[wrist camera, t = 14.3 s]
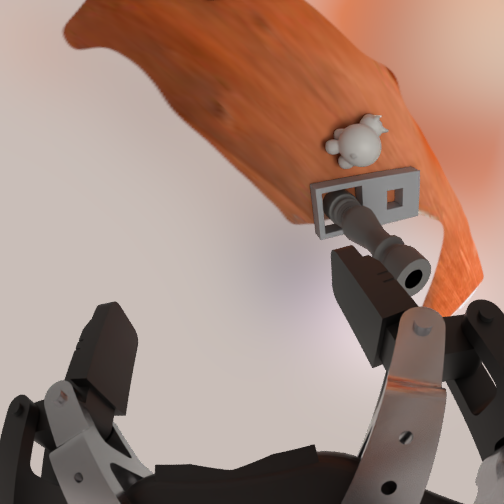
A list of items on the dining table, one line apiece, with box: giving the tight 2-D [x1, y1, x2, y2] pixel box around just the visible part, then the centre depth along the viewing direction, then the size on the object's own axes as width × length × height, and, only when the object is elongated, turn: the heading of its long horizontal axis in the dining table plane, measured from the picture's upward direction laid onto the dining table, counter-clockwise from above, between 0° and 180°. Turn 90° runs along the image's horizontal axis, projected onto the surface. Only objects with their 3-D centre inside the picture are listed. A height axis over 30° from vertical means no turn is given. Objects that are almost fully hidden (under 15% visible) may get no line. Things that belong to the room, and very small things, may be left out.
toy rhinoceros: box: [325, 114, 388, 169], centre depth 41 cm, size 7×12×8 cm, turn 133°
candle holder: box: [323, 189, 431, 297], centre depth 40 cm, size 6×6×25 cm
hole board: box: [310, 167, 420, 240], centre depth 49 cm, size 10×23×3 cm, turn 101°
